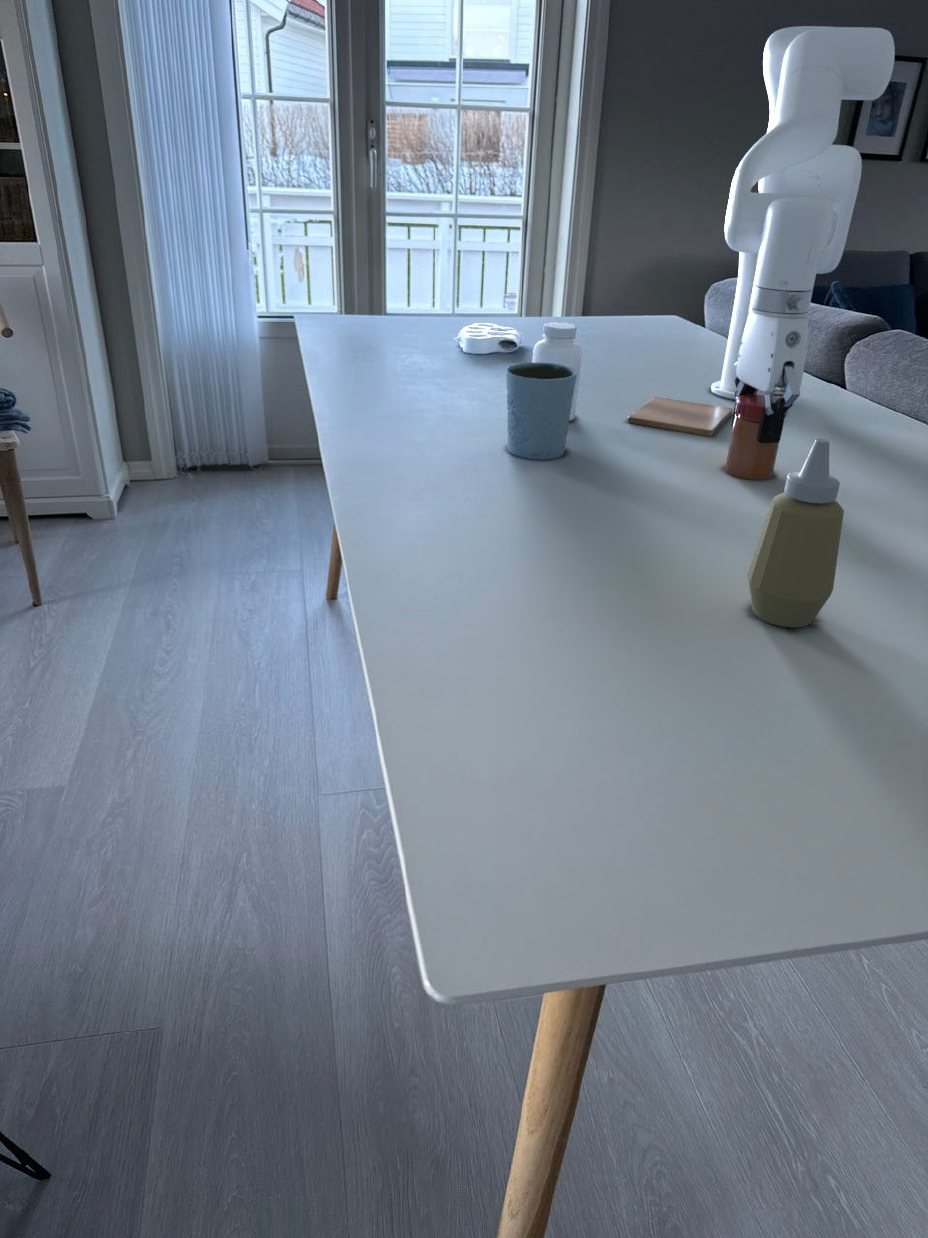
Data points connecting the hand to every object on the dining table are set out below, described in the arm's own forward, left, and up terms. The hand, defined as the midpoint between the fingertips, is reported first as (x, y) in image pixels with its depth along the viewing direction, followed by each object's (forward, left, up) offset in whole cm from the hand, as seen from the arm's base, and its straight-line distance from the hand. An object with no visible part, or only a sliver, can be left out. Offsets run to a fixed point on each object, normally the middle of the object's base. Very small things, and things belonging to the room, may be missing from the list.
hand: (754, 433), depth 127 cm
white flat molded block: (-57, -69, -6) cm, 90 cm away
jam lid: (0, 0, +4) cm, 4 cm away
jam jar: (0, 0, -6) cm, 6 cm away
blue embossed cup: (+8, -30, -6) cm, 31 cm away
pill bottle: (-11, -35, -6) cm, 37 cm away
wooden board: (-23, -16, -6) cm, 29 cm away
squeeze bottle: (+44, +12, -6) cm, 46 cm away
